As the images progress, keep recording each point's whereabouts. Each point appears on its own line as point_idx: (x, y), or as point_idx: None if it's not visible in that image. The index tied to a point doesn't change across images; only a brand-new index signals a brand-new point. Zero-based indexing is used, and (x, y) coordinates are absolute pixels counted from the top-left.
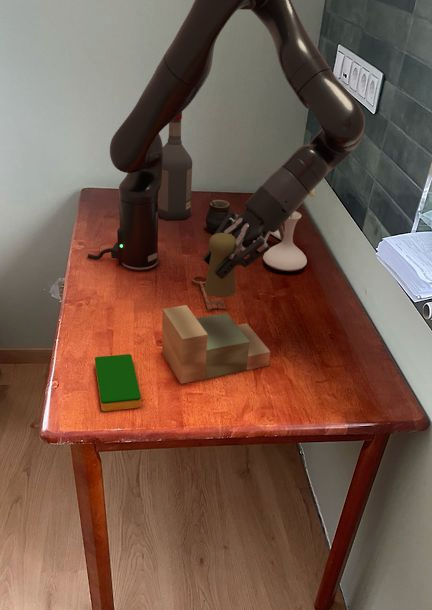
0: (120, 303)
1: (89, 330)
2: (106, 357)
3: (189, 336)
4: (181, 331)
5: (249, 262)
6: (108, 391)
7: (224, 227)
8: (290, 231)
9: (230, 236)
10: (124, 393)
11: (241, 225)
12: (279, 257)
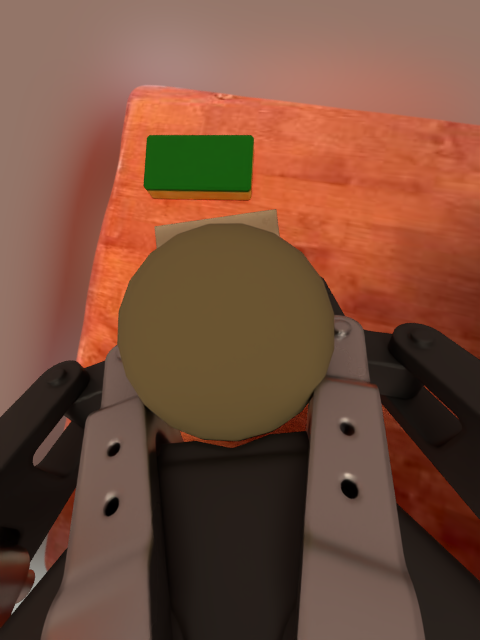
0: (432, 208)
1: (352, 149)
2: (247, 151)
3: (160, 242)
4: (180, 230)
5: (62, 435)
6: (166, 146)
7: (471, 419)
8: None
9: (201, 395)
10: (156, 167)
11: (291, 634)
12: None
